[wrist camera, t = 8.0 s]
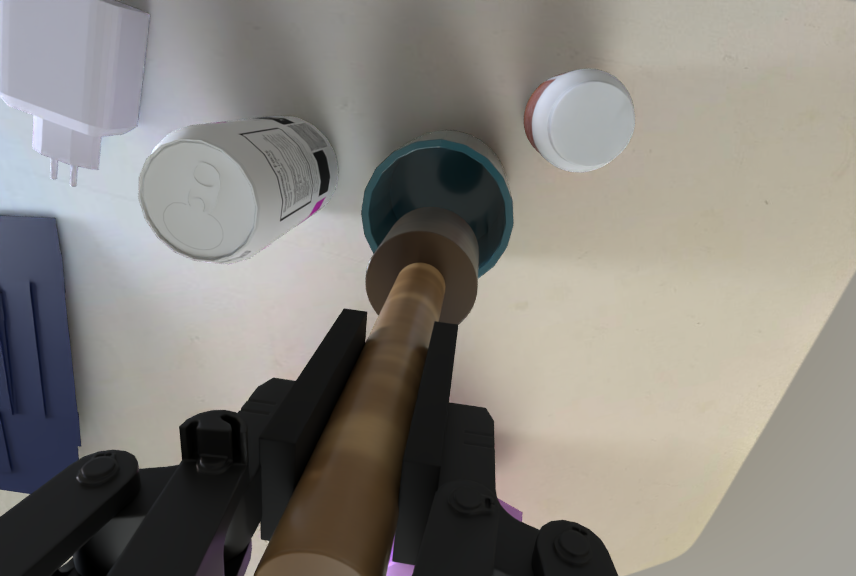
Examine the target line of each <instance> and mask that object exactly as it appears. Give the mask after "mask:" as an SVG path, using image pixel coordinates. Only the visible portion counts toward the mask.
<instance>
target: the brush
mask: <svg viewBox="0 0 856 576" xmlns="http://www.w3.org/2000/svg"><path fill="white" fill-rule="evenodd" d="M478 264H479V247H478V242H477V239H476V236H475V234H474V232H473V230H472V229H471V227H470V226H469V225H468V223H467V222H466V221H465V220H464V219H462V218H461V217H460V216H459V215H457V214H455V213H454V212H452V211H449V210H447V209H444V208H439V207H423V208H418V209H415V210H412V211H410V212H408V213H407V214H405V215H404V216H402V217H401V218H400V219H399V220H398V221H397V222H396V223H395V224H394V226H393V227H392V228H391V230H390V231H389V233H388V234H387V235H386V237H385V238H384V240H383V241H382V243H381V244H380V245H379V247H378V248H377V250H376V251H375V253H374V254H373V256H372V257H371V259H370V262H369V264H368V267H367V271H366V291H367V295H368V298H369V301H370V303H371V305H372V307H373V309H374V310H375V312H376V313H377V314H378V318H377V320H376V322H375V324H374V326H373V329H372V331H371V333H370V335H369V337H368V339H367V341H366V343H365V345H364V347H363V349H362V351H361V353H360V355H359V357H358V360H357V362H356V364H355V366H354V368H353V370H352V372H351V374H350V376H349V378H348V380H347V382H346V384H345V386H344V389H343V391H342V393H341V395H340V397H339V399H338V401H337V403H336V405H335V407H334V409H333V411H332V413H331V415H330V418H329V420H328V422H327V424H326V426H325V428H324V430H323V432H322V434H321V436H320V438H319V440H318V442H317V444H316V447H315V449H314V451H313V453H312V455H311V457H310V459H309V461H308V463H307V465H306V467H305V469H304V471H303V473H302V475H301V478H300V480H299V482H298V484H297V486H296V488H295V490H294V492H293V494H292V496H291V498H290V500H289V502H288V504H287V507H286V509H285V511H284V513H283V515H282V517H281V519H280V521H279V523H278V525H277V527H276V529H275V531H274V533H273V536H272V538H271V540H270V542H269V544H268V546H267V548H266V550H265V552H264V554H263V556H262V558H261V560H260V562H259V564H258V567H257V569H256V571H255V573H254V576H386V574H387V570H388V565H389V560H390V555H391V550H392V545H393V541H394V536H395V531H396V526H397V521H398V516H399V508H398V500H399V490H400V481H401V471H402V462H403V457H404V452H405V448H406V444H407V439H408V435H409V430H410V426H411V422H412V417H413V413H414V409H415V404H416V400H417V395H418V391H419V387H420V382H421V378H422V374H423V369H424V365H425V360H426V356H427V352H428V347H429V343H430V339H431V334H432V330H433V325H434V321H437V322H444V323H451V324H458V325H459V324H460V323H461V322H462V321H463V320H464V319H465V318H466V317H467V315H468V314H469V313H470V311H471V309H472V307H473V305H474V303H475V300H476V295H477V287H478Z"/></svg>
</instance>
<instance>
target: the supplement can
mask: <svg viewBox="0 0 856 576" xmlns="http://www.w3.org/2000/svg"><path fill="white" fill-rule="evenodd" d="M338 173H339V171H338V166H337V160H336V154H335V152H334V150H333V149H332V147H331V145H330V143H329V141H328V139H327V137H326V136H324V135H323V134H322V133H321V132H320V131H319V130H318V129H317V128H316V127H315V126H314V125H313V124H311V123H309V122H306V121H304V120H302V119H300V118H297V117H291V116H271V117H262V118H252V119H243V120H234V121H224V122H215V123H205V124H196V125H190V126H187V127H184V128H182V129H179V130H176V131H173V132H170V133H169V134H168V135H167V136H166V137H165V138H164V139H163V140H162V141H161V142H160V143H159V144H158V145H156V146H155V147H154V149H153V151H152V154H151V155H150V156H149V157H148V158H147V159H146V161H145V163H144V166H143V168H142V171H141V173H140V176H139V196H138V199H139V202H140V205H141V208H142V211H143V214H144V218H145V220H146V221H147V223H148V224H149V226H150V227H151V229H152V230H153V232H154V233H155V235H156V236H157V238H158V239H159V240H161V241H162V242H163V243H164V244H165V245H167V246H168V247H169V248H170V249H171V250H173V251H174V252H175V253H178V254H180V255H182V256H185V257H187V258H189V259H192V260H194V261H204V262H208V263H219V264H232V263H236V262H239V261H243V260H246V259H250V258H251V257H253V256H254V255H255V254H257V253H258V252H260V251H261V250H263V249H264V248H266V247H267V246H268V245H270V244H271V243H273V242H274V241H276V240H277V239H278V238H280V237H281V236H283V235H284V234H286V233H287V232H289V231H290V230H291V229H293V228H294V227H296V226H297V225H299V224H300V223H302V222H303V221H304V220H306V219H307V218H309V217H310V216H312V215H313V214H315V213H316V212H317V211H318V210H320V209H321V208H322V207H324V206H325V205H326V204H327V203H328V202H329V200H330V198H331V197H332V195H333V193H334V191H335V190H336V185H337V179H338Z"/></svg>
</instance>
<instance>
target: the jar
mask: <svg viewBox="0 0 856 576" xmlns="http://www.w3.org/2000/svg"><path fill="white" fill-rule="evenodd" d="M423 207H439V208H444V209H447V210H449V211H452V212H454V213H455V214H457V215H459V216H460V217H461V218H462V219H464V220H465V221H466V222H467V223H468V225H469V226H470V227H471V229H472V230H473V232H474V234H475V236H476V239H477V242H478V247H479V264H478V278H480V277H481V276H482V275H484V274H485V273H486V272H487V271H489V270H490V269H491V268H493V267H494V266H495V264H496V263H497V261H498V260H499V258H500V257H501V255H502V254H503V252H504V251H505V249H506V248H507V246H508V242H509V239H510V235H511V232H512V228H513V224H514V222H513V201H512V197H511V192H510V188H509V184H508V180H507V177H506V174H505V171H504V169H503V166H502V164H501V162H500V160H499V159H498V157H497V156H496V154H495V153H494V152H493V151H492V150H491V149H490V148H489V147H488V146H487V145H486V144H485V143H484V142H482V141H481V140H479V139H478V138H476V137H474V136H472V135H470V134H467V133H464V132H460V131H454V130H440V131H434V132H429V133H427V134H424V135H422V136H420V137H418V138H416V139H413V140H411V141H410V142H408V143H407V144H405V145H404V146H402V147H400V148H399V149H397V150H396V151H394V152H393V153H392V154H391V155H390V156H388V157H387V158H386V159H385V160H384V161H383V162H382V163H381V164H380V165H379V166H378V167H377V168H376V169H375V171H374V173H373V175H372V177H371V179H370V181H369V183H368V184H367V186H366V188H365V192H364V198H363V204H362V210H361V212H362V213H361V215H362V222H363V229H364V235H365V237H366V239H367V241H368V243H369V245H370V248H371V250H372V252H373V254H374V253H375V251H376V250H377V248H378V247H379V245H380V244H381V243H382V241H383V240H384V238H385V237H386V235H387V234H388V233H389V231H390V230H391V228H392V227H393V226H394V224H395V223H396V222H397V221H398V220H399V219H400V218H401V217H402V216H404V215H405V214H407V213H408V212H410V211H412V210H415V209H418V208H423Z"/></svg>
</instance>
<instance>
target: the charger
mask: <svg viewBox="0 0 856 576" xmlns="http://www.w3.org/2000/svg"><path fill="white" fill-rule="evenodd" d="M149 21H150V14H149V13H147V12H144V11H142V10H139V9H137V8H134V7H131V6H129V5H126V4H123V3H120V2H118V1H115V0H0V97H1V98H2V99H3V100H4V102H5V103H6V104H7V105H8V106H10V107H12V108H15V109H18V110H21V111H23V112H26V113H29V114H31V115H33V140H32V148H33V149H34V150H36V151H37V152H38V153H40V154H41V155H44V156H47V157H49V158H51V167H50V178H51V179H53V180H55V179H57V172H58V161H60V162H63V163H66V164H69V165H71V171H70V186H72V187H75V186H77V173H78V167H82V168H87V169H93V170H99V160H100V149H101V137H104V136H113V135H122V134H125V133H127V132H129V131H130V130H132V129H134V128H136V127H137V126H138V117H139V108H140V99H141V91H142V82H143V73H144V65H145V56H146V47H147V39H148V30H149Z"/></svg>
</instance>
